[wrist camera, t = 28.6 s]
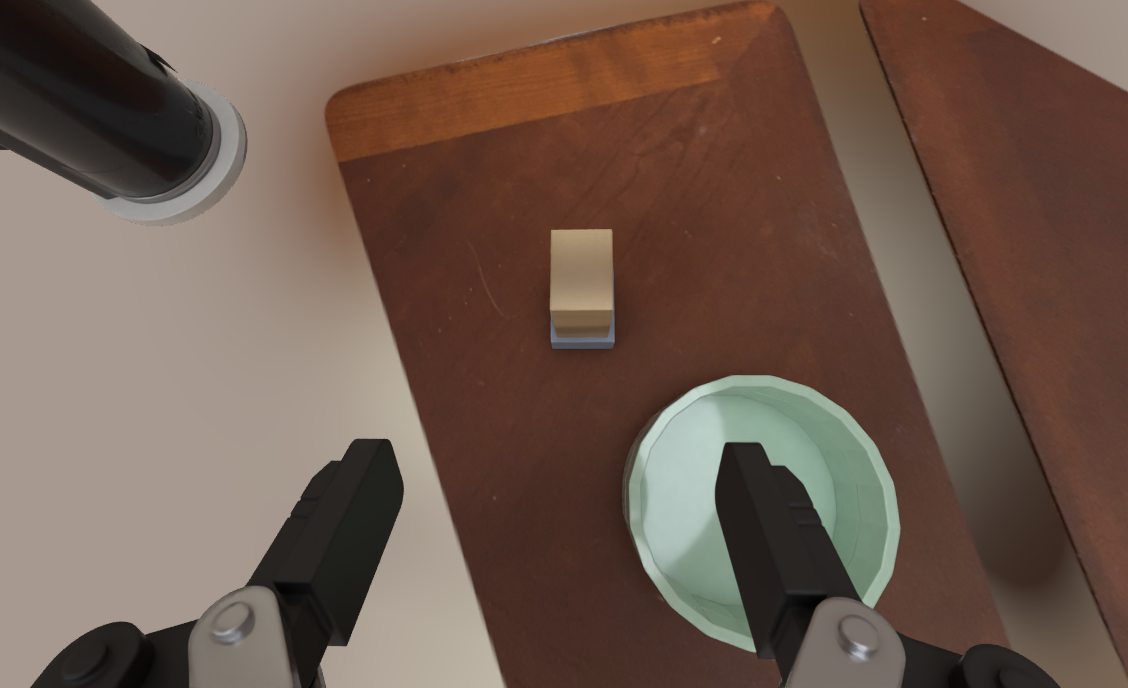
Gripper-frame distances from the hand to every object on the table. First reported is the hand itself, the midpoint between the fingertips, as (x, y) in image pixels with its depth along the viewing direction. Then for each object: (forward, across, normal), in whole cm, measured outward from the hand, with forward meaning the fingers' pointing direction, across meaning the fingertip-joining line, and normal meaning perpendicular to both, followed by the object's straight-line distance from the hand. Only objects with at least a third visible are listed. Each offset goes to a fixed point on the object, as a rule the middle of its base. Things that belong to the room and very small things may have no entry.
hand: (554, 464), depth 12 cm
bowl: (+12, -10, +15) cm, 21 cm away
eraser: (+20, -1, +7) cm, 21 cm away
